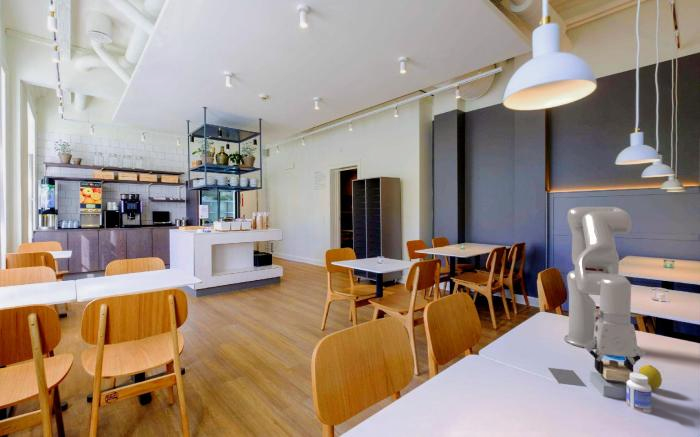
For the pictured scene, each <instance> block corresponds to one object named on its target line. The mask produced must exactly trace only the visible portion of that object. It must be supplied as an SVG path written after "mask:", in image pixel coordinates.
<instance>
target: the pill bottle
mask: <svg viewBox="0 0 700 437" xmlns="http://www.w3.org/2000/svg"><path fill="white" fill-rule="evenodd" d="M647 383H648V377H647V376H645V375H643V374H639V372H633V373H630V380H628V381H627V397H626V399H625V400H626V403H625V404H626V406H627V407H629V408H630V409H632V410H635V411H637V412H640V413H647V414H648V413H651V412H652V390H651V387H650V385H648V384H647Z"/></svg>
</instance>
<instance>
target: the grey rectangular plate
mask: <svg viewBox="0 0 700 437" xmlns="http://www.w3.org/2000/svg"><path fill="white" fill-rule="evenodd" d="M547 368H548V370H549V372H550V373H551V375H552V376H553V377H554V379H555V380H556V381H557V383H558V384H561V385H562V384H563V385H570V386H578V387H584V388H585V387H587V385H586V384H585V383H584V382H583V380H582V379H581V378H580V377H579V376H578V375H577V373H576V372H575V371H574V370H572V369H564V368H563V369H562V368H555V367H554V368H553V367H547Z"/></svg>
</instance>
